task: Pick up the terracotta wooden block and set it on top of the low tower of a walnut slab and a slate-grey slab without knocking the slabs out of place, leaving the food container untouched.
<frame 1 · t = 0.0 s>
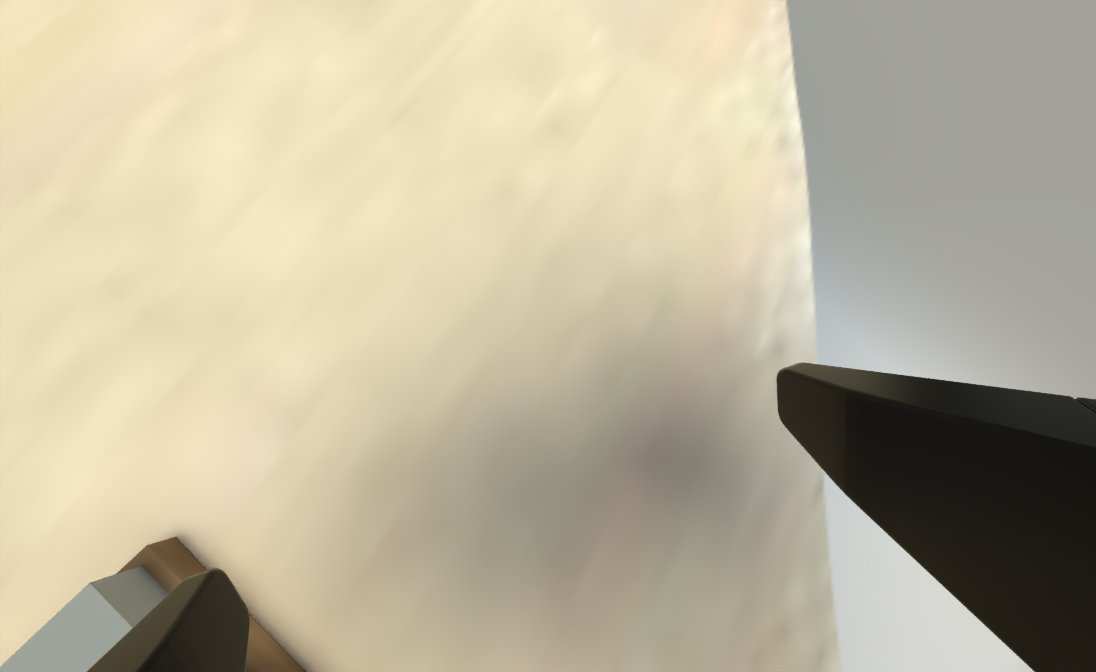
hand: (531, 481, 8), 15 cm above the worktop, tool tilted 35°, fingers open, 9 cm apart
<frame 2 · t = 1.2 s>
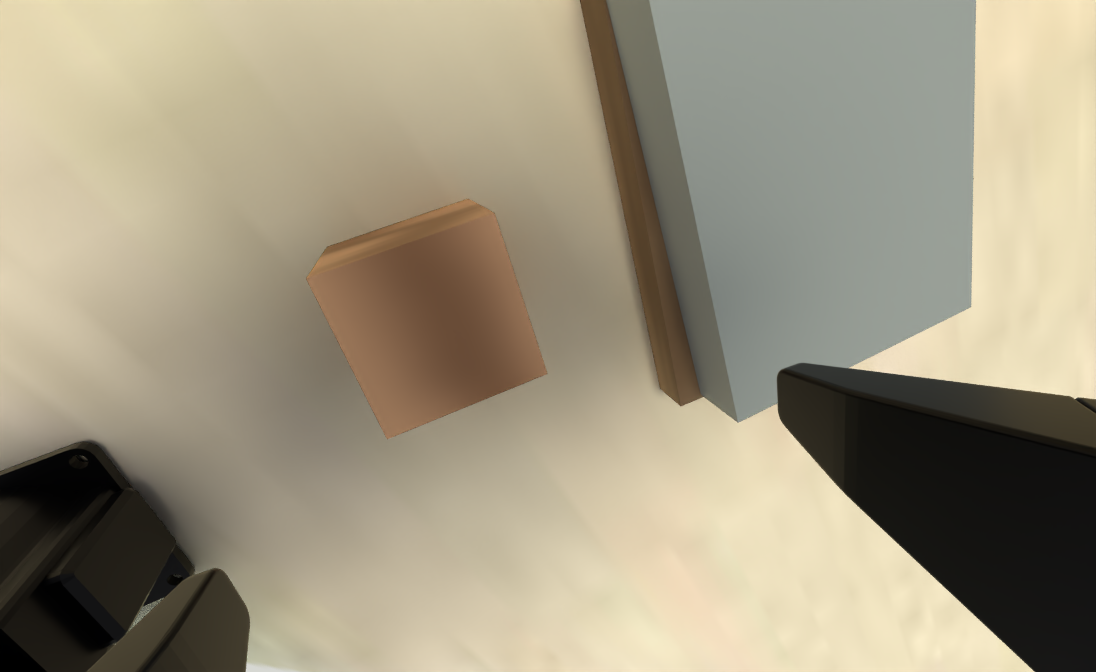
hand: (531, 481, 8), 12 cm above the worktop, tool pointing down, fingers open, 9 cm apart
walnut slab: (746, 167, 21), on the worktop, touching slate grey slab
slate grey slab: (788, 168, 19), point 2 cm above the worktop, touching walnut slab
terracotta block: (426, 288, 19), on the worktop
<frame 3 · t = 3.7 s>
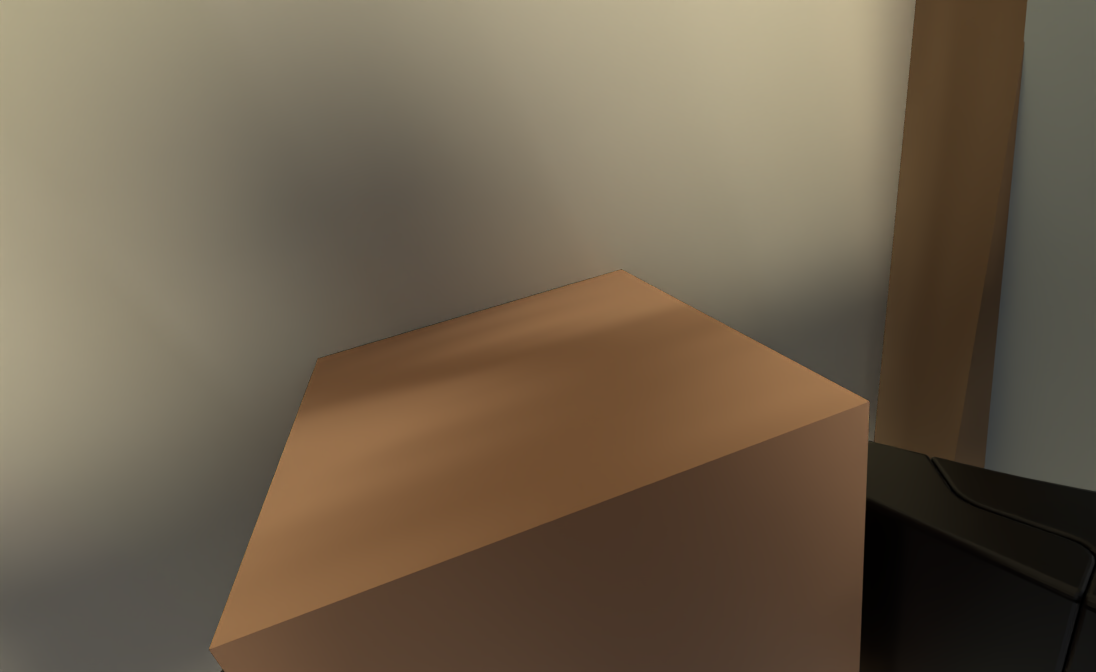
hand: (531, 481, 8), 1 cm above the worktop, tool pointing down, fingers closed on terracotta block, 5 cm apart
walnut slab: (1069, 231, 12), on the worktop, touching slate grey slab
terracotta block: (514, 440, 9), on the worktop, touching gripper
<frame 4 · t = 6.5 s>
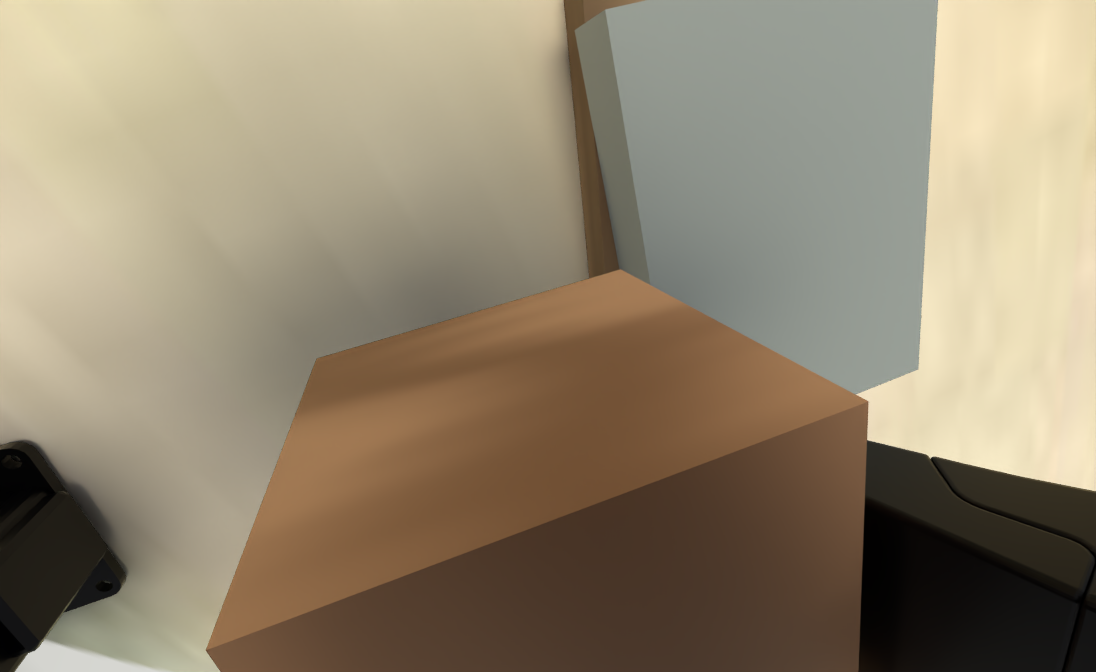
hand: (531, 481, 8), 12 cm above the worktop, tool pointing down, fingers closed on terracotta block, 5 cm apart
walnut slab: (712, 213, 22), on the worktop, touching slate grey slab
slate grey slab: (749, 220, 20), point 2 cm above the worktop, touching walnut slab
terracotta block: (513, 440, 9), point 11 cm above the worktop, touching gripper
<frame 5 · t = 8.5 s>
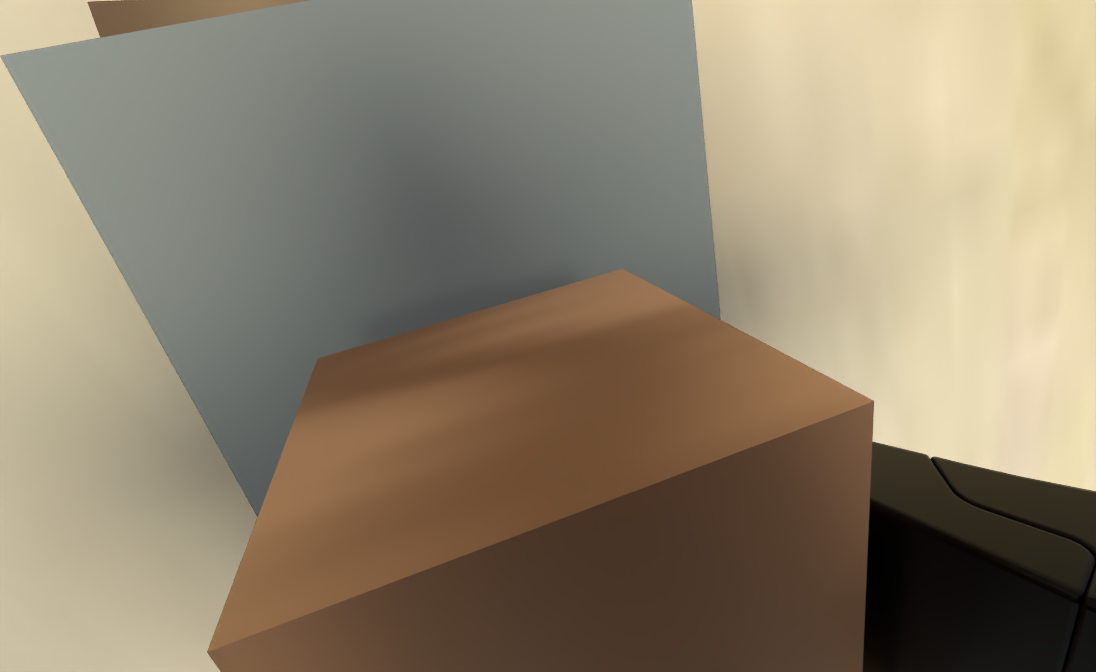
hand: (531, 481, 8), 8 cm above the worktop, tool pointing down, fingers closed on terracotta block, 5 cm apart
walnut slab: (467, 318, 16), on the worktop, touching slate grey slab
slate grey slab: (479, 347, 13), point 2 cm above the worktop, touching walnut slab
terracotta block: (514, 440, 9), point 6 cm above the worktop, touching gripper
when the fingers open (7 cm above the worktop, at t = 9.6 s): terracotta block drops 2 cm, point 4 cm above the worktop.
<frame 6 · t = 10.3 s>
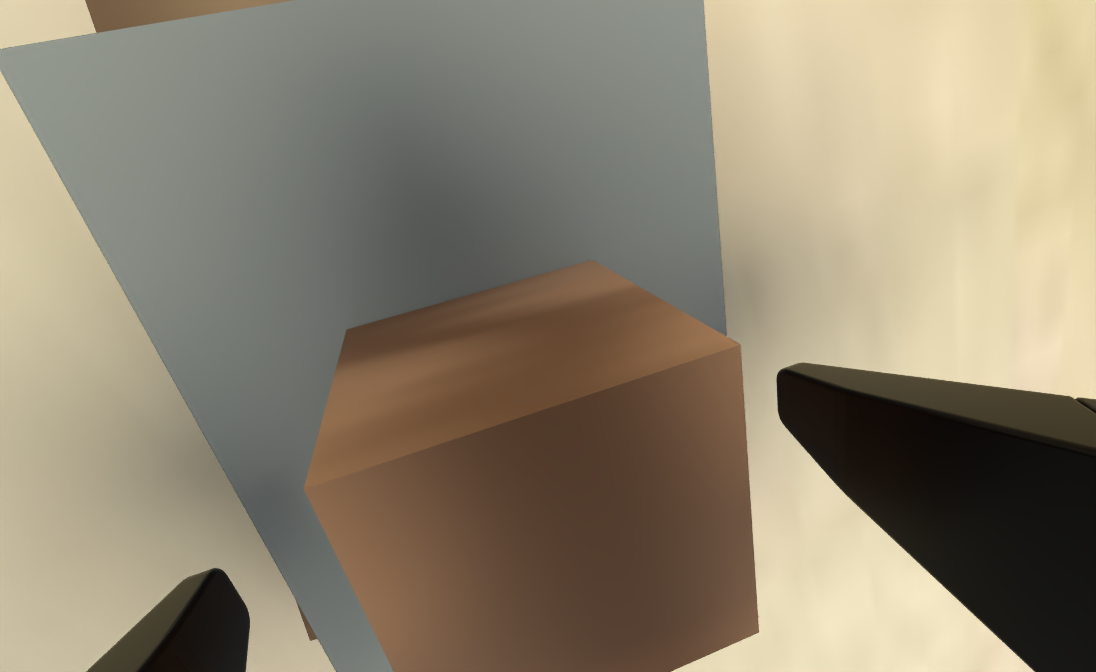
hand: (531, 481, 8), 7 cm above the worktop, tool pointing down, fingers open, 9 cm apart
walnut slab: (467, 320, 16), on the worktop, touching slate grey slab
slate grey slab: (480, 351, 13), point 2 cm above the worktop, touching walnut slab
terracotta block: (504, 401, 11), point 4 cm above the worktop
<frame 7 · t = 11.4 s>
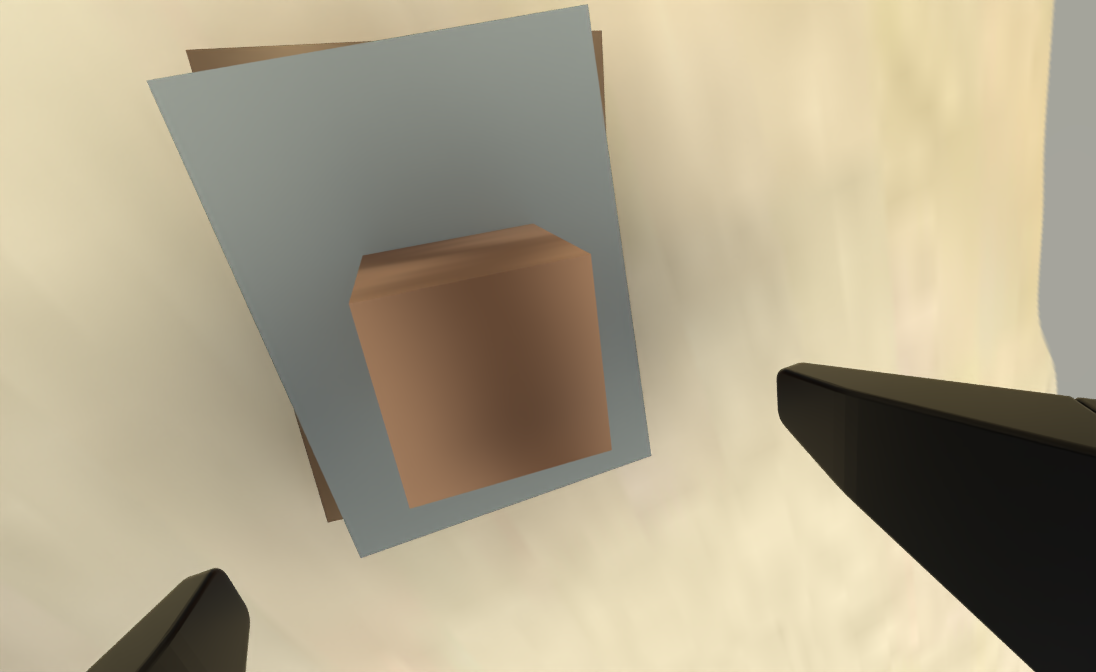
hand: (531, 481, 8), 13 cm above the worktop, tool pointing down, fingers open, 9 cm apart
walnut slab: (446, 281, 20), on the worktop, touching slate grey slab
slate grey slab: (452, 293, 18), point 2 cm above the worktop, touching walnut slab
terracotta block: (467, 318, 16), point 4 cm above the worktop
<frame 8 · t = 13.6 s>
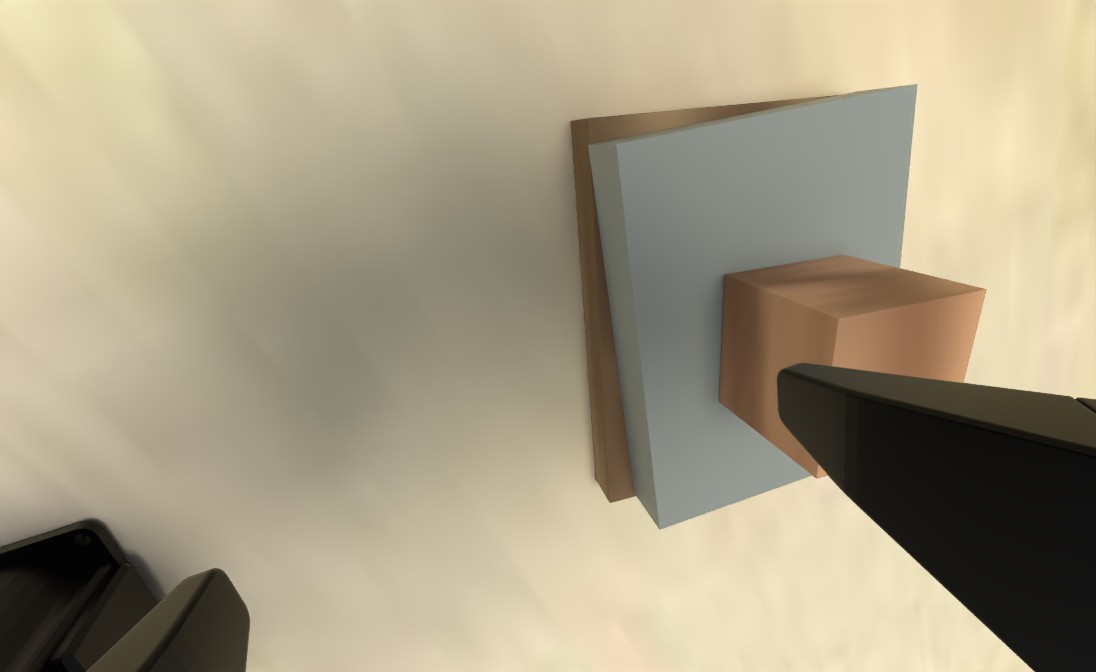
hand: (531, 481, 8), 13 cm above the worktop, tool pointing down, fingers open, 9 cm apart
walnut slab: (702, 296, 24), on the worktop
slate grey slab: (736, 309, 22), point 2 cm above the worktop, touching terracotta block
terracotta block: (780, 329, 19), point 4 cm above the worktop, touching slate grey slab
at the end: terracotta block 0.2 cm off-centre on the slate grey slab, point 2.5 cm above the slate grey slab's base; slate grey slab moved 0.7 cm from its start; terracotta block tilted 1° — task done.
